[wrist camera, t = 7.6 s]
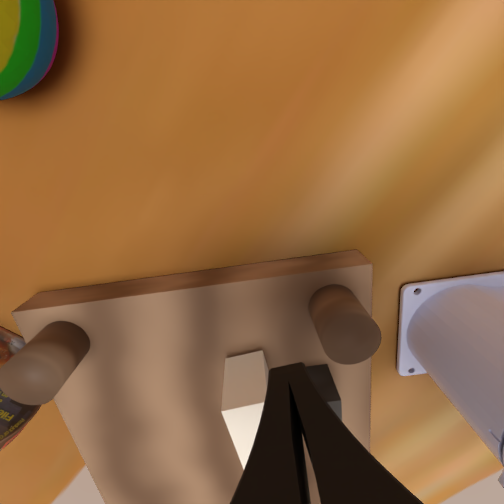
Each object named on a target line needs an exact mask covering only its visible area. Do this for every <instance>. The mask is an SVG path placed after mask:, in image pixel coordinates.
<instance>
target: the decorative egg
mask: <svg viewBox="0 0 504 504" xmlns="http://www.w3.org/2000/svg"><path fill="white" fill-rule="evenodd" d="M58 38H59V27H58V18H57V12H56V7H55V3H54V0H0V100H4V99H8V98H12V97H15V96H17V95H20V94H22V93H24V92H26V91H28V90H29V89H31V88H33V87H34V86H35V85H37V84H38V83H39V82H40V81H41V80H42V79H43V78H44V77H45V75H46V74H47V72H48V71H49V70H50V68H51V66H52V64H53V62H54V59H55V56H56V52H57V47H58Z"/></svg>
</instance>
